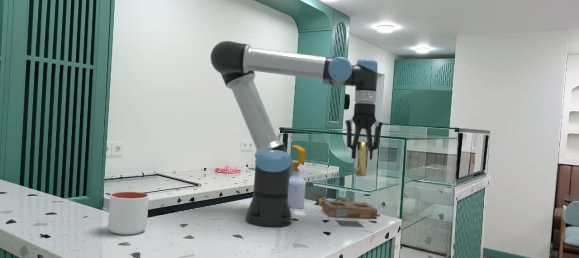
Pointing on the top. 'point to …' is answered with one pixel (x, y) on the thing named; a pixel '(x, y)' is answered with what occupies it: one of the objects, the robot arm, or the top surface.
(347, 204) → the socket block
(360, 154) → the yellow tall cylinder
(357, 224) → the mat
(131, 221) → the cup
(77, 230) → the top surface
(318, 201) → the electronic device
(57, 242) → the top surface
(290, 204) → the soap bottle
